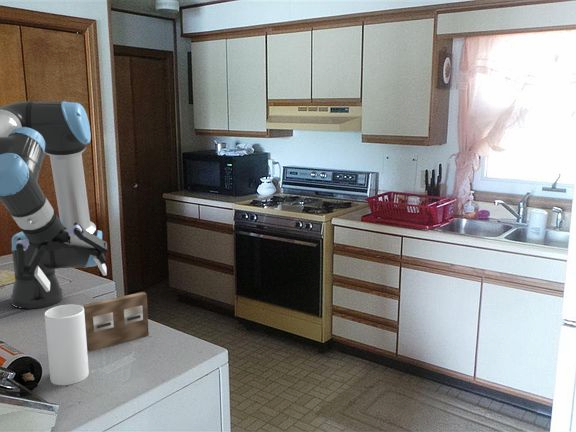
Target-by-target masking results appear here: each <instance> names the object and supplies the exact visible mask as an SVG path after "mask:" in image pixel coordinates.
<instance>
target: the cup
mask: <svg viewBox="0 0 576 432" xmlns="http://www.w3.org/2000/svg"><path fill="white" fill-rule="evenodd" d="M44 323H45V336H46V346H47V356H48V357H47V358H48V371H49V381H50V382H51V383H52V384H53V385H57V386H70V385H75V384H77V383H79V382H82V381H84V380H85V379H87V378H88V377H89V375H90V374H89V373H90V371H89V358H88V350H87V341H86V328H85V314H84V306H83V305H80V304H61V305H58V306H54V307H53V306H52V307H50V308H49V309H47V310H46V311H45V312H44Z"/></svg>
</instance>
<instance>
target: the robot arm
mask: <svg viewBox="0 0 576 432" xmlns="http://www.w3.org/2000/svg"><path fill="white" fill-rule="evenodd" d="M91 133H92V132H91V125H90V121H89V118H88V113H87V111H86V110H85V108H84V106H83V104H81V103H79V102H72V101H71V102H70V101H65V100H63V101H28V100H27V101H19V102H13V103H10V104H6V105H3V106H0V202H1V203H2V205H4V207H5V209H6V210H7V211H8V213H9V214H10V216H11V217H12V220H13V221H14V222H15V223H16V224H17V227H19V228H20V230H21V231H20V232H17V233H15V234H14V235H13V236H12V238H11V254H12V262H13V263H12V264H13V273H14V283H13V287H12V293H11V295H10V304H11V303H12V304H13V305H15V306H17V307H21V308H27V309H26V310H28V309H29V310H31V309H39V308H44V307H49V306H53V305H54V304H55V305H56V304H58V303H60V302H61V301H62V300H63V298H64V292H63V291H64V290H63V289H62V287H61V285H60V283H59V281H58V277H57V276H56V275H57V274H56V270H57V269H75V268H83V269H84V268H90V267H91V268H92V267H97V266H98V269H99V271H100V272H101V274H102V276H103V277H104V276H107V275H108V274H107V266H106V261H107V259H106V256H105V253H108V242H107V241H105V240H103V231H102V230H99V229H98V230H97V226H96V224H95V223H94V222H92V221H91V218H90V210H89V201H88V196H87V195H88V193H87V186H86V180H85V179H86V178H85V177H86V176H85V172H84V171H85V170H84V164H83V163H84V162H83V156H82V155H83V153H84V151H85V150H86V149H87V145H88V144H90V143H91V139H92V136H91V135H92V134H91ZM45 154H46V155H47V156H49V159H50V166H51V170H52V173H51V174H52V178H53V184H54V191H55V196H56V197H55V199H56V201H57V202H56V203H57V204H56V205H57V208H58V209H57V210H58V215H59V216H58V215H57V213H56V211H55V210H54V208H53V207H52V205H51V203H50V201H49V200H48V198H47V197H46V195H45V194H44V193H43V190H42V188H41V187H40V185H39V182H38V180H39V176H40V172H41V168H42V165H43V161H44V159H45V156H46V155H45Z"/></svg>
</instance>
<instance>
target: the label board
mask: <svg viewBox="0 0 576 432" xmlns="http://www.w3.org/2000/svg"><path fill="white" fill-rule="evenodd" d="M83 308H84V314H85V328H86V341H87V352H93V351H96V350H101V349H104V348H107V347H111V346H115V345H118V344H123V343H127V342H130V341H134V340H136V339H140V338H146V337H149V335H150V334H149V333H150V332H149V314H148V313H149V312H148V294H147V293H146V292H145V291H141V292H136V293H132V294H128V295H127V294H126V295H123V296H118V297H113V298H109V299H105V300H104V299H103V300H100V301H95V302H91V303H86V304H83Z"/></svg>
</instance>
